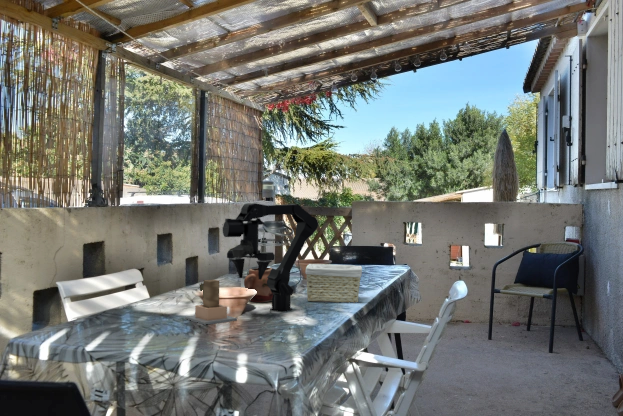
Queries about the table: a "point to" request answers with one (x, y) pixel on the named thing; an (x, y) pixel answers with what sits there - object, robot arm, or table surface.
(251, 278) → the decorative planter
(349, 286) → the storage basket
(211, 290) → the walnut wood block
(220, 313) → the square socket holder
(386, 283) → the table surface
